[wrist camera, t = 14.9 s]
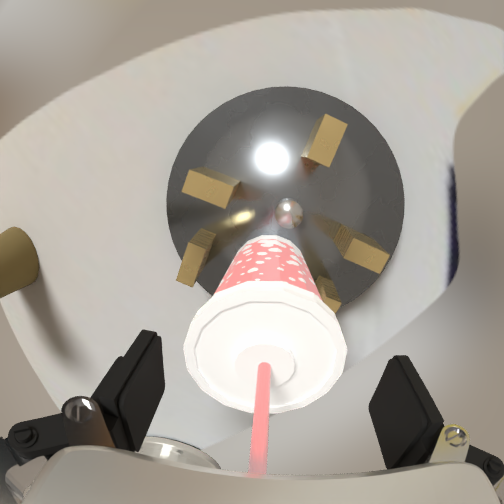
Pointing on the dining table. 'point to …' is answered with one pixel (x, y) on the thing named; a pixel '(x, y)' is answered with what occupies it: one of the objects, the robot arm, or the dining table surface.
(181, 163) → the gold studded metal disc
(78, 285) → the dining table surface
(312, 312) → the beverage cup
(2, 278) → the cork
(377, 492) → the robot arm
